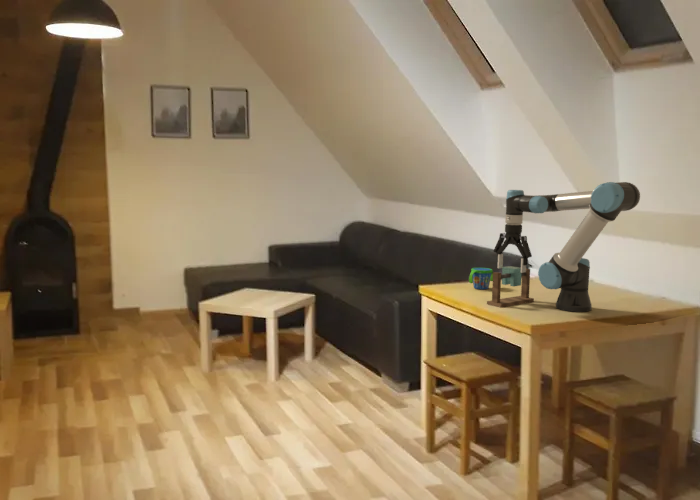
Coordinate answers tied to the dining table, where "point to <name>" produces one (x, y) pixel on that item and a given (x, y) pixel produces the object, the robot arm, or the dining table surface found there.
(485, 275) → the snack cup
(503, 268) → the link
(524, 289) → the stand
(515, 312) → the dining table surface
